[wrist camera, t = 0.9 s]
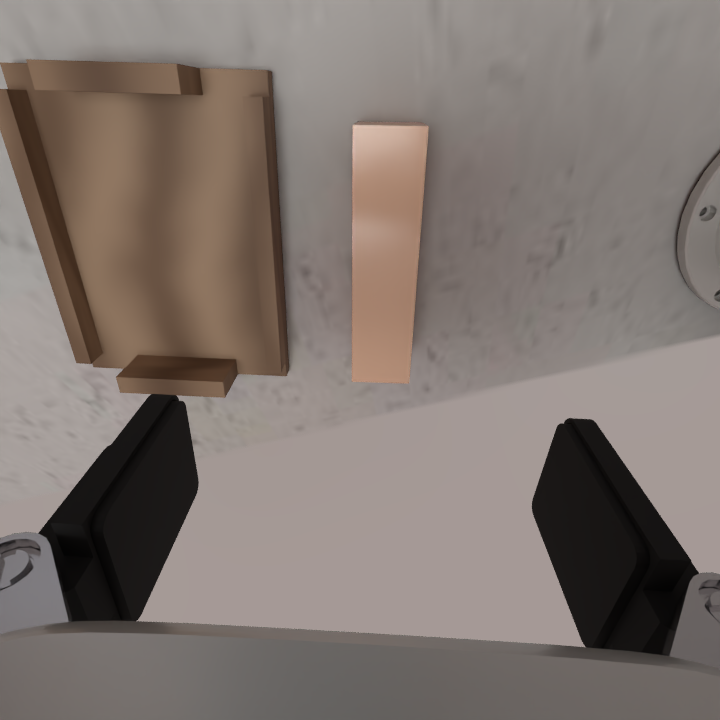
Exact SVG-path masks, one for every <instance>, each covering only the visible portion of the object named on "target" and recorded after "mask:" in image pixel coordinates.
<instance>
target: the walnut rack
mask: <svg viewBox="0 0 720 720" xmlns="http://www.w3.org/2000/svg"><path fill="white" fill-rule="evenodd" d="M0 64H1V67H2V71H3V74H4V77H5V80H6V84H7V87H8V89H0V130H1V133H2V137H3V140H4V143H5V146H6V149H7V152H8V155H9V158H10V161H11V164H12V167H13V170H14V173H15V176H16V179H17V182H18V185H19V188H20V192H21V195H22V198H23V201H24V204H25V207H26V210H27V213H28V216H29V219H30V222H31V225H32V228H33V231H34V234H35V237H36V240H37V243H38V247H39V250H40V253H41V256H42V259H43V262H44V265H45V268H46V271H47V274H48V277H49V280H50V283H51V286H52V289H53V292H54V295H55V298H56V302H57V305H58V308H59V311H60V314H61V317H62V320H63V323H64V326H65V329H66V332H67V335H68V338H69V341H70V344H71V347H72V350H73V353H74V357H75V360H76V363H85V364H91V363H93V367H101V368H123V370H122V371H121V372H120V374H119V375H118V376H117V377H116V379H117V382H118V386H119V390H120V393H141V394H166V395H182V396H203V397H224V398H225V397H226V395H227V393H228V391H229V389H230V388H231V386H232V384H233V382H234V380H235V378H236V377H237V375H238V374H251V375H273V376H287V374H288V371H289V359H288V342H287V325H286V308H285V291H284V274H283V258H282V241H281V224H280V207H279V190H278V173H277V156H276V140H275V123H274V106H273V89H272V72H271V71H268V70H240V69H206V68H195V67H190V66H185V65H180V64H165V63H130V62H95V61H60V60H27V63H0Z"/></svg>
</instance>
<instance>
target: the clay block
mask: <svg viewBox="0 0 720 720" xmlns="http://www.w3.org/2000/svg"><path fill="white" fill-rule="evenodd" d="M428 129H429V126H427V125H425V124H423V123H421V122H356V123H355V124H353V177H352V382H379V383H409V377H410V364H411V351H412V338H413V325H414V312H415V299H416V286H417V273H418V260H419V247H420V234H421V221H422V208H423V194H424V181H425V168H426V155H427V142H428Z"/></svg>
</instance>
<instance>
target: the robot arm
mask: <svg viewBox="0 0 720 720" xmlns="http://www.w3.org/2000/svg"><path fill="white" fill-rule="evenodd" d="M701 210H702V211H701ZM677 256H678V261H679V265H680V270H681V273H682V275H683V277H684V279H685V281H686V283H687V285H688V286H689V287H690V288H691V290H692V291H693V292H694V293H695V294H696V295H697V296H698V297H699V298H700V299H702V300H703V301H705V302H706V303H708V304H709V305H711V306H712V307H714V308H716V309H718V310H720V153H719V154H718V156H717V157H716V158H715V159H714V161H713V162H712V163H711V164H710V165H709V167H708V168H707V169H706V170H705V172H704V173H703V175H702V176H701V178H700V180H699V181H698V183H697V185H696V186H695V188H694V190H693V191H692V193H691V195H690V197H689V200H688V202H687V205H686V207H685V209H684V212H683V214H682V218H681V223H680V227H679V231H678V240H677ZM197 490H198V475H197V469H196V464H195V457H194V451H193V445H192V440H191V434H190V428H189V422H188V416H187V410H186V405H185V403H184V402H183V401H179V399H178V397H177V396H176V395H166V394H151V395H150V396H149V397H148V398H147V399H146V401H145V402H144V403H143V404H142V406H141V407H140V408H139V410H138V411H137V412H136V413H135V415H134V416H133V417H132V419H131V420H130V421H129V423H128V424H127V425H126V426H125V428H124V429H123V430H122V432H121V433H120V434H119V435H118V437H117V438H116V439H115V441H114V442H113V443H112V444H111V445H110V446H108V447H107V448H106V449H105V450H104V451H103V452H102V453H101V454H100V456H99V457H98V458H97V459H96V461H95V462H94V463H93V464H92V466H91V467H90V468H89V470H88V471H87V472H86V473H85V475H84V476H83V477H82V478H81V480H80V481H79V482H78V484H77V485H76V486H75V487H74V489H73V490H72V491H71V492H70V494H69V495H68V496H67V498H66V499H65V500H64V501H63V503H62V504H61V505H60V506H59V508H58V509H57V510H56V512H55V513H54V514H53V515H52V517H51V518H50V519H49V520H48V522H47V523H46V524H45V525H44V527H43V528H42V529H41V531H40V532H39V533H31V532H24V533H15V534H12V535H8V536H5V537H2V538H0V720H720V574H717V573H700V574H699V573H698V571H697V570H696V568H695V567H694V565H693V564H692V562H691V559H690V558H689V557H688V555H687V554H686V552H685V551H684V549H683V548H682V547H681V545H680V544H679V542H678V541H677V539H676V538H675V536H674V535H673V533H672V532H671V531H670V529H669V528H668V526H667V525H666V523H665V522H664V521H663V519H662V518H661V516H660V515H659V513H658V512H657V510H656V509H655V508H654V506H653V505H652V503H651V502H650V500H649V499H648V498H647V496H646V495H645V493H644V492H643V490H642V489H641V487H640V486H639V485H638V483H637V482H636V480H635V479H634V477H633V476H632V474H631V473H630V471H629V470H628V469H627V467H626V466H625V464H624V463H623V461H622V460H621V459H620V457H619V456H618V454H617V453H616V451H615V450H614V448H613V447H612V445H611V444H610V443H609V441H608V440H607V439H606V437H605V435H604V434H603V433H602V431H601V430H600V428H599V427H598V425H597V424H596V423H595V422H594V421H593V420H590V419H572V418H569V419H567V420H566V421H565V422H564V424H559V425H558V426H557V429H556V431H555V434H554V437H553V440H552V443H551V446H550V449H549V452H548V456H547V458H546V461H545V464H544V467H543V470H542V473H541V476H540V479H539V482H538V485H537V488H536V491H535V495H534V497H533V501H532V511H533V515H534V518H535V521H536V523H537V526H538V528H539V531H540V534H541V536H542V539H543V541H544V544H545V546H546V549H547V552H548V554H549V557H550V559H551V562H552V565H553V567H554V570H555V572H556V575H557V578H558V580H559V583H560V585H561V588H562V591H563V593H564V596H565V598H566V601H567V604H568V606H569V609H570V611H571V614H572V616H573V619H574V622H575V624H576V627H577V630H578V632H579V635H580V637H581V640H582V642H583V644H584V645H585V647H574V646H561V645H547V644H533V643H517V642H501V641H486V640H470V639H456V638H440V637H423V636H406V635H389V634H373V633H356V632H339V631H321V630H305V629H285V628H268V627H249V626H230V625H211V624H193V623H167V622H166V623H165V622H139V621H137V620H138V619H139V617H140V616H141V614H142V612H143V610H144V607H145V605H146V603H147V601H148V598H149V597H150V594H151V592H152V590H153V588H154V586H155V583H156V581H157V579H158V577H159V575H160V573H161V570H162V568H163V566H164V564H165V561H166V559H167V557H168V555H169V553H170V551H171V549H172V546H173V544H174V542H175V540H176V538H177V536H178V533H179V531H180V529H181V527H182V525H183V522H184V520H185V518H186V516H187V514H188V512H189V509H190V507H191V505H192V503H193V500H194V499H195V496H196V494H197ZM586 647H587V648H586Z"/></svg>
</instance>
